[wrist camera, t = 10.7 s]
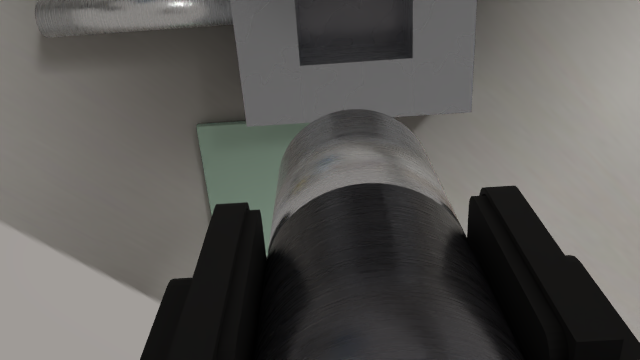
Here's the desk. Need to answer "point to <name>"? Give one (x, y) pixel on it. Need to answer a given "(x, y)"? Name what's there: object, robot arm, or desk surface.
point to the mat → (245, 164)
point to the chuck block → (312, 50)
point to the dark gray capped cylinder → (371, 254)
